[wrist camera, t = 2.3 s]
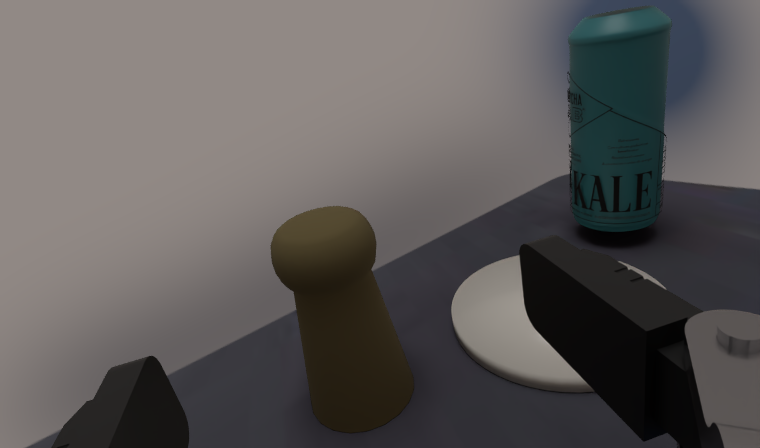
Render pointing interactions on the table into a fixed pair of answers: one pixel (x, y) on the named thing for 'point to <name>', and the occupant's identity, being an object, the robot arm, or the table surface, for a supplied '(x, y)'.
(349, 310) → the cork
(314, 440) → the table surface
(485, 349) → the saucer
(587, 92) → the beverage bottle
